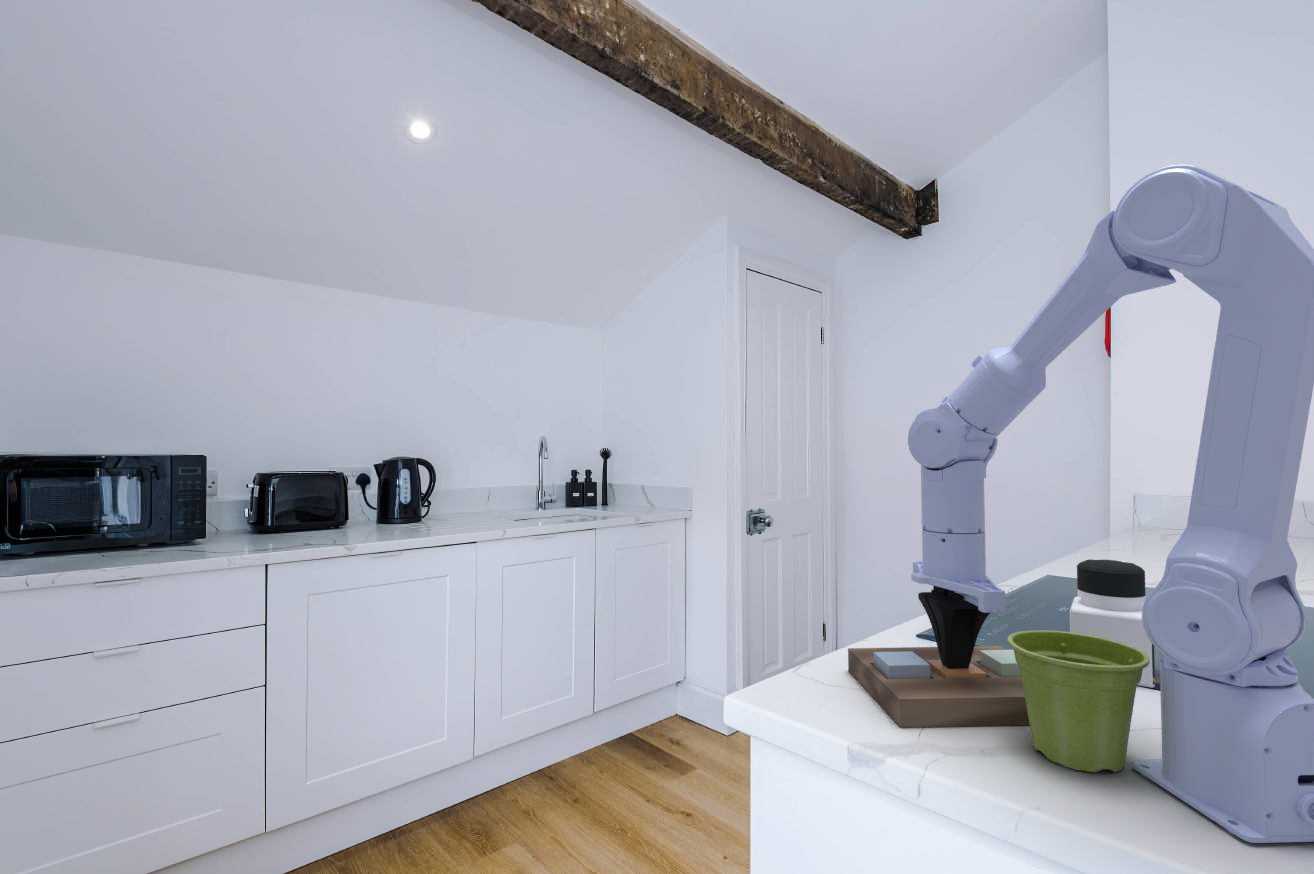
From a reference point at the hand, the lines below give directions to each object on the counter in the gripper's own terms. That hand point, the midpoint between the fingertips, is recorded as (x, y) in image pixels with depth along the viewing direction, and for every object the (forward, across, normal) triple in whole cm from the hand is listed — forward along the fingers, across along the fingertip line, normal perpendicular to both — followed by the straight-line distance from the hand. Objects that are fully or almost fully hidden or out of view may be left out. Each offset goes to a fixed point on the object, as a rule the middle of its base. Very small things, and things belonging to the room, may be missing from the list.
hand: (955, 666), depth 62 cm
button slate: (+1, 0, -5) cm, 6 cm away
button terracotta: (+2, 0, 0) cm, 2 cm away
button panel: (+3, 0, 0) cm, 3 cm away
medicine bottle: (+3, -6, +20) cm, 21 cm away
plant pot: (+3, +12, +4) cm, 13 cm away
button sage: (+1, 0, +6) cm, 6 cm away
